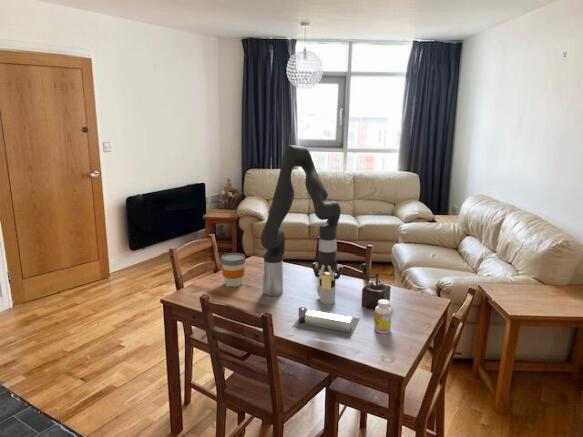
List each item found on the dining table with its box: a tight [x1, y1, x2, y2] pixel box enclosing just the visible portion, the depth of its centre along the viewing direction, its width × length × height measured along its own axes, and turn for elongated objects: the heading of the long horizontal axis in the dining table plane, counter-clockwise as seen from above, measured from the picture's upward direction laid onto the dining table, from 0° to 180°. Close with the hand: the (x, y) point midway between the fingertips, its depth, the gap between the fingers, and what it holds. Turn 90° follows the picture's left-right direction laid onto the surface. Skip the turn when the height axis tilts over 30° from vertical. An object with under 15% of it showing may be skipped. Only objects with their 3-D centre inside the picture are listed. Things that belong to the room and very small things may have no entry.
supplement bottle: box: [374, 299, 393, 334], centre depth 175 cm, size 7×7×13 cm
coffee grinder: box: [360, 263, 392, 312], centre depth 199 cm, size 16×11×18 cm
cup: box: [317, 284, 337, 305], centre depth 203 cm, size 7×10×9 cm
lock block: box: [322, 272, 332, 289], centre depth 182 cm, size 4×4×6 cm
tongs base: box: [298, 306, 351, 332], centre depth 178 cm, size 23×4×6 cm, turn 69°
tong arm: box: [307, 309, 353, 329], centre depth 179 cm, size 19×2×4 cm, turn 69°
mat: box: [291, 308, 361, 339], centre depth 182 cm, size 25×18×1 cm
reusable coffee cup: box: [220, 252, 246, 287], centre depth 222 cm, size 13×13×15 cm
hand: (327, 286), depth 183 cm, fingers closed on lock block, 4 cm apart
